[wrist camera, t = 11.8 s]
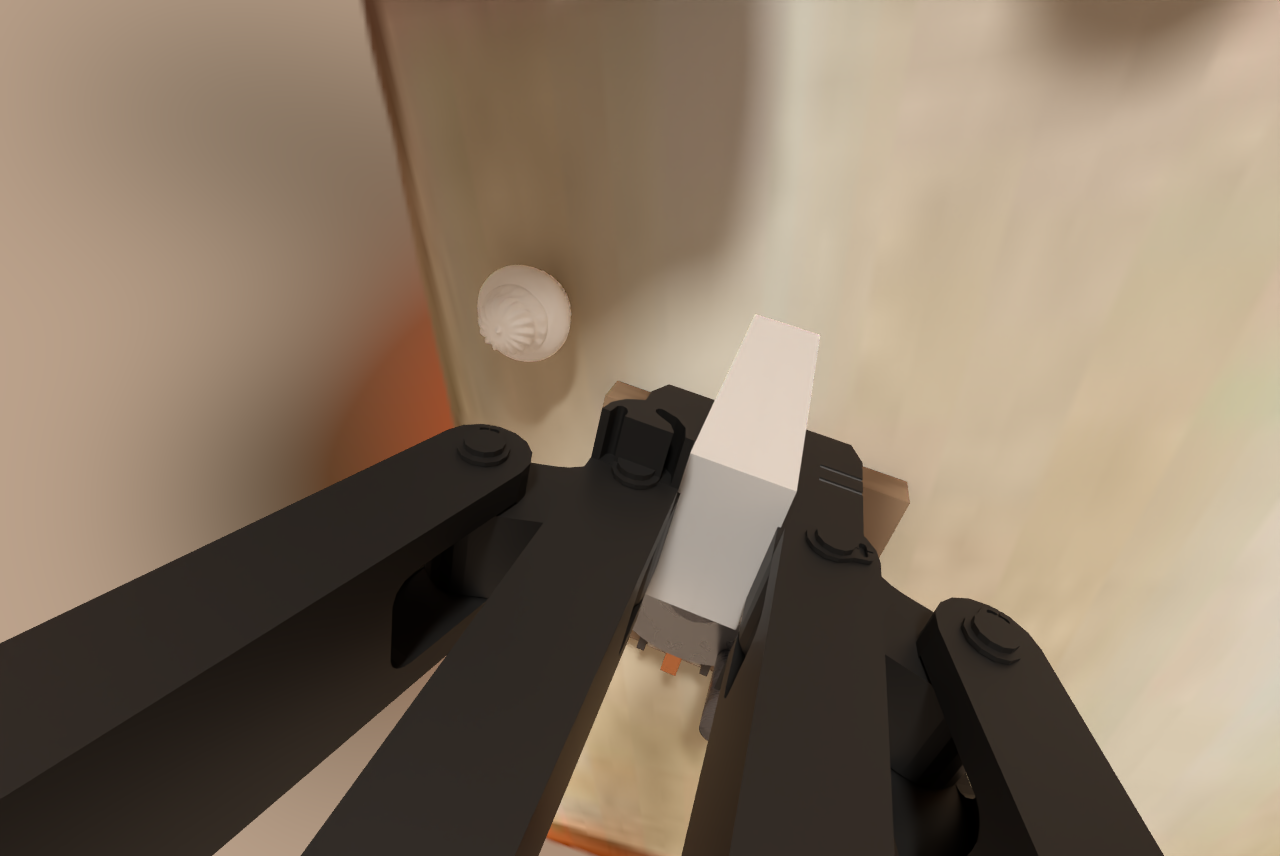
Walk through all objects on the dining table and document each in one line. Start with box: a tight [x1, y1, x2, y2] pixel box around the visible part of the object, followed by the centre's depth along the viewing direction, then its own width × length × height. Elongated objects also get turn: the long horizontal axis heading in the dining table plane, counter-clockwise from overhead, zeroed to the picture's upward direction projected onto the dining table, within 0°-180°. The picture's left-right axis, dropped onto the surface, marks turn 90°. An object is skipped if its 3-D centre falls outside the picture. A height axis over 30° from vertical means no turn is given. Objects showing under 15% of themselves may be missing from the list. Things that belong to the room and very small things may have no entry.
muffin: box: [477, 265, 572, 362], centre depth 40 cm, size 6×6×7 cm
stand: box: [603, 381, 910, 676], centre depth 46 cm, size 20×20×3 cm
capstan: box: [632, 594, 743, 741], centre depth 42 cm, size 16×15×8 cm
